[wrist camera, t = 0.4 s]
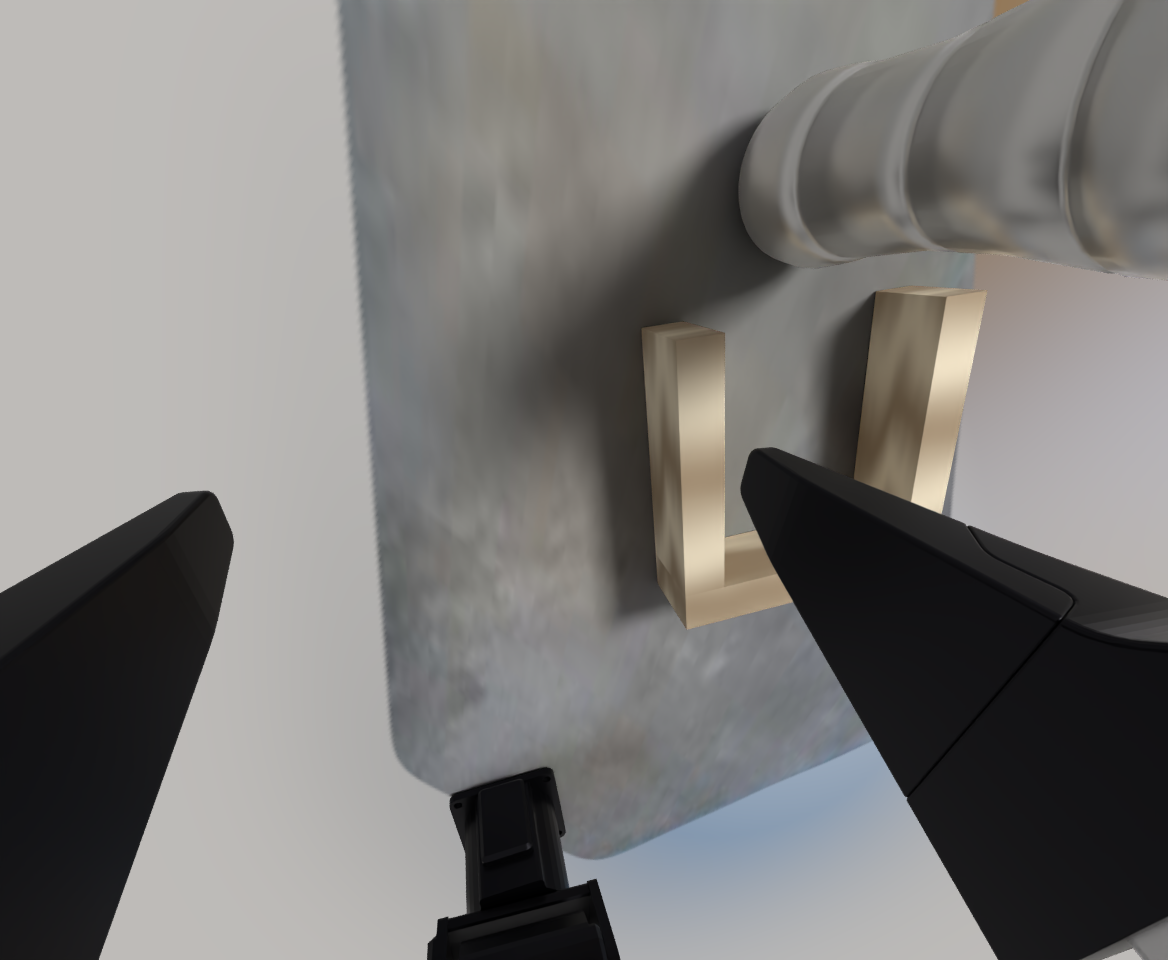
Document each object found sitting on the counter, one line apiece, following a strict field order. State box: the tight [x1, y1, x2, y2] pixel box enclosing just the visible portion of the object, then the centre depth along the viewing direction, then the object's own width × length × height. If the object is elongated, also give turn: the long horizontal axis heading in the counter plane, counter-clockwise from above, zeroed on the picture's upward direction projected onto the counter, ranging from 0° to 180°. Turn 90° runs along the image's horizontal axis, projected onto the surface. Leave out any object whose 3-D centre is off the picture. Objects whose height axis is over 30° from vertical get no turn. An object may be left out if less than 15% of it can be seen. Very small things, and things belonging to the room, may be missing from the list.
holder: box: [641, 286, 987, 629], centre depth 25 cm, size 14×14×4 cm
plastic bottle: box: [739, 0, 1168, 281], centre depth 13 cm, size 6×7×20 cm
